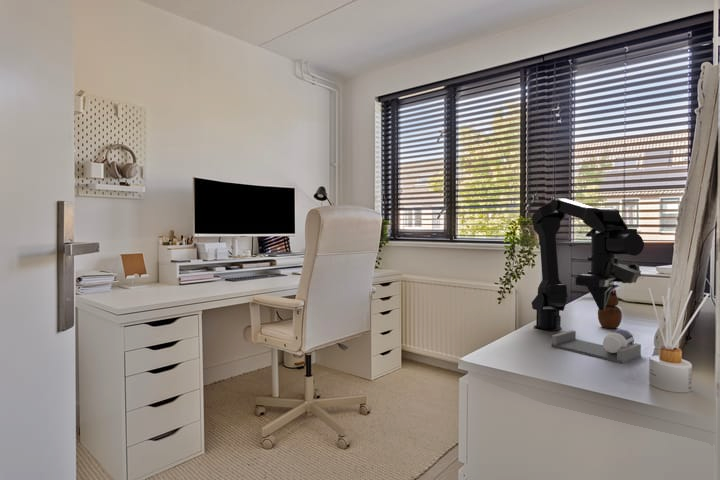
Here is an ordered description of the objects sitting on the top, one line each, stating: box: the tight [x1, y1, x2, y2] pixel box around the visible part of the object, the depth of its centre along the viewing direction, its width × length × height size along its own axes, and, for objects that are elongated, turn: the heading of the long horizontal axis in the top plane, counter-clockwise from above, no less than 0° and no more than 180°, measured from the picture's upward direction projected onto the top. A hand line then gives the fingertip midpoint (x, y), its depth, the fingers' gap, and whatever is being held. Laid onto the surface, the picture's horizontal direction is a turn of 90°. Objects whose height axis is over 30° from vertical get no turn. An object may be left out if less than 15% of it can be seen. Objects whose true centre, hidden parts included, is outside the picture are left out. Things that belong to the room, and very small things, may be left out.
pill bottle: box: [602, 328, 635, 354], centre depth 107 cm, size 5×5×10 cm
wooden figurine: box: [597, 290, 623, 330], centre depth 137 cm, size 7×6×15 cm
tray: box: [550, 329, 642, 364], centre depth 110 cm, size 18×11×3 cm, turn 35°
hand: (601, 310), depth 111 cm, fingers closed
